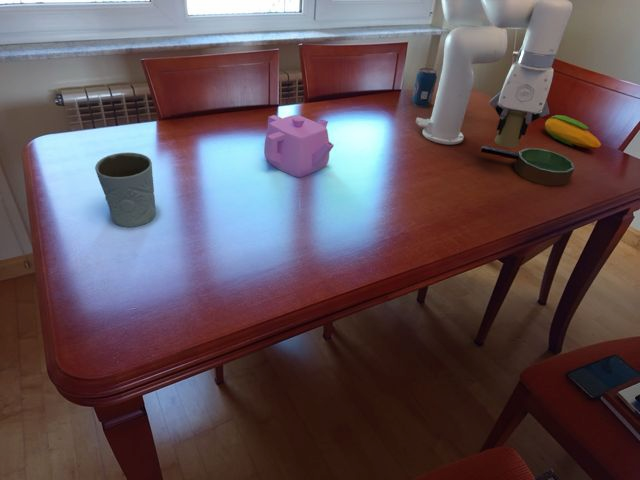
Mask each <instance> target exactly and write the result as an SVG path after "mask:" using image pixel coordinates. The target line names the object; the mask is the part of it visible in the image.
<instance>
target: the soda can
mask: <svg viewBox="0 0 640 480" xmlns="http://www.w3.org/2000/svg"><path fill="white" fill-rule="evenodd" d="M437 78H438V76H437V71H436V70H435V69H432V68H427V67H423V68H420V69H419V70H418V72H417V73H416V77H415V83H414V88H413V92H412V98H411V101H412V105H414V106H416V107H419V108H427V107H428V106H430V104H431V103H432V100H433V96H434V91H435V87H436V82H437Z"/></svg>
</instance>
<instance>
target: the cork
mask: <svg viewBox="0 0 640 480" xmlns="http://www.w3.org/2000/svg"><path fill="white" fill-rule="evenodd" d="M526 115H527V112H523V111H520V110H512V109H509V111H508V113H507V115H506V119H505V120H506V122H505V125H504V127H503V129H502V132H501V134H500V135H498V133H499V131H497V134H496V136H495V138H494V140H493V141H494V142H495V144H497V145H498V146H501V147H505V148H509V149H515V148H518V147H519V146H520V142H521V138H520V139H519V134H520V129H521V126H522V123H523V122H524V119H525V118H526Z"/></svg>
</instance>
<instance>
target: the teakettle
mask: <svg viewBox="0 0 640 480" xmlns="http://www.w3.org/2000/svg"><path fill="white" fill-rule="evenodd" d="M328 123H329V121H328V120H326V119H319V121H318V122H316V121H314V120H311V119H310V118H307V117H305V116H302V115H298V114H292V115H288V116H286V117H280V116H278V115H275V114H273V115H270V116H268V117H267V130H266V134H265V138H264V157H265V160H266V162H267V163H269V164H270V165H272V166H273V167H274V168H276V169H278V170H280V171H282V172H284V173H286V174H288V175H291V176H293V177H295V178H303V177H306V176H308V175H310V174H314V173H315V172H318V171H320V170H322V169H324V168H326V167H327V165H328V163H329V162H330V161H329V160H330V152H331V151H332V149H333V148H334V146H335V145H334V144H333V143H332V142H331V141H330V139H329V132H328V128H327V126H328Z"/></svg>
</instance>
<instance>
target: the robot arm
mask: <svg viewBox="0 0 640 480" xmlns="http://www.w3.org/2000/svg"><path fill="white" fill-rule="evenodd" d="M440 2H441V7H442V13H443V17H444V20H445V22H446V24H447V25H449V26H453V27H456V28H453V29H452V30H451V31H450V32H449V33H448V34H447V36H446V37H445V41H444V45H443V60H442V61H443V62H442V68H441V72H440V77H439V81H438V86H437V91H436V94H435V99H434V104H433V108H432V113H431V116H430V118H426V119H425V118H423V117H416V119H415V122H414V123H415V124H416V125H417V126H418V127H421V128H423V129H422V135H423V137H424V138H426V139H427V140H428V141H431V142H433V143H436V144H440V145H449V146H450V145H452V146H454V145H458V144H461V143H462V142H463V141H464V138H465V136H464V134H463V133H462V132H461V130H462V126H463V122H464V119H465V116H466V112H467V108H468V105H469V103H470V102H469V101H470V98H471V94H472V91H473V86H474V83H475V77H474V71H473V67H472V65H479V64H480V65H481V64H494V63H496V62H499V61H500V60H501V59H502V58H503V57H504V56H505V54H506V52H507V50H508V49H507V48H508V32H507V29H508V30H509V29H510V30H511V29H512V30H513V29H514V30H517V29H518V30H526V32H525V36H524V38H523V41H522V44H521V47H520V49H519V50H513V51H512V54H511V58H515V59H516V61H514V62H513V63H512V64H511V67H510V68H509V70H508V73H507V75H506V77H505V79H504V82H503V85H502V88H501V90H500V91H499V92H498V93H497V94H496V95H494V97H492V98H491V99H490V100H489V105H490V106H491V107H492V108H493V109H494V110H495V112H496V114H497V115H498V116H499V120H498V123H497V126H496V130H497V131H498V132H499V133H498V132H497V134H498V135H500V134H501V132H502V129H503V127H504V125H505V122H506V120H505V119H506V115H507V113H508V111H509V109H512V110H520V111H523V112H527V115H525V119H524V122H523V123H522V126H521V129H520V134H519V139H520V140H521V138H522V136H525V135H526V132H527V129H528V127H529V125H530V124H531V123H533V122H535V121H536V120H538V119H540V118H544V117H546V116H549V114H550V109H549V106H548V102H547V99H548V95H549V93H550V88H551V85H552V81H553V77H554V71H555V70H554V68H553V67H552V66H553V63H554V61H555V58H556V55H557V52H558V50H559V47H560V45H561V41H562V39H563V36H564V34H565V31H566V28H567V25H568V23H569V20H570V17H571V14H572V12H573V7H574V6H573V3H572V2H571V1H570V0H440Z"/></svg>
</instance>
